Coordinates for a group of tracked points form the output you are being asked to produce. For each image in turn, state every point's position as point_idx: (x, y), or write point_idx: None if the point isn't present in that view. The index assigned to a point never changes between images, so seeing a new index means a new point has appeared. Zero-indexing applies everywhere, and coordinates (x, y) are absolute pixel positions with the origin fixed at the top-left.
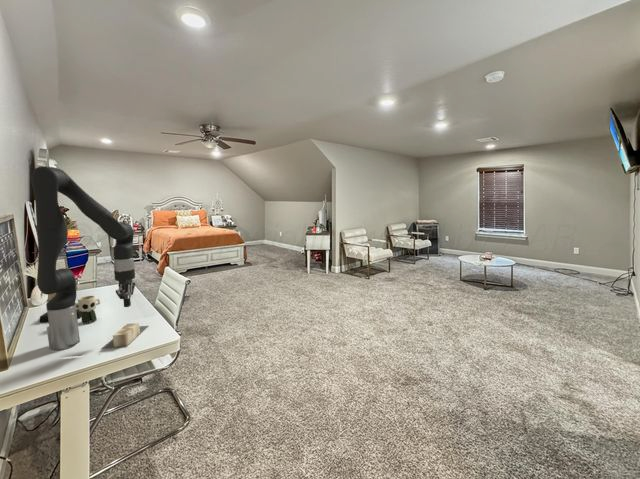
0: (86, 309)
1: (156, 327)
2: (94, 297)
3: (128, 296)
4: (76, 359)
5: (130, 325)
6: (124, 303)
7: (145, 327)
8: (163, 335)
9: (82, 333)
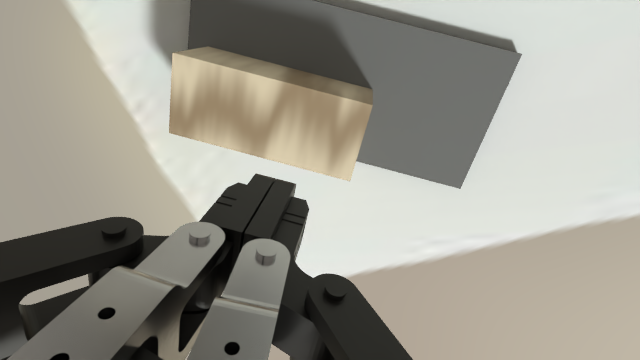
0: None
1: (431, 219)
2: None
3: (180, 320)
4: None
5: (324, 133)
6: (217, 206)
7: (438, 171)
8: (299, 253)
9: None
